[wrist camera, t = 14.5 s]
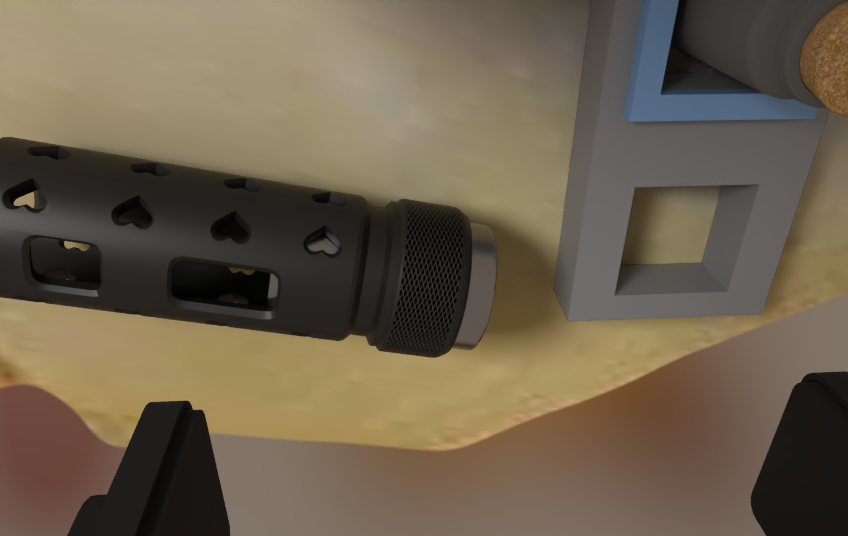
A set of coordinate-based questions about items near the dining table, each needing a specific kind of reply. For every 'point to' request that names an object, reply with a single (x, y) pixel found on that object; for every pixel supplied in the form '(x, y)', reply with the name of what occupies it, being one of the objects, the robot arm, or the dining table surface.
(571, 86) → the dining table surface
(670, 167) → the grey cinder block
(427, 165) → the dining table surface
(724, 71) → the bottle
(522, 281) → the dining table surface
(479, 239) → the muzzle brake
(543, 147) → the dining table surface
